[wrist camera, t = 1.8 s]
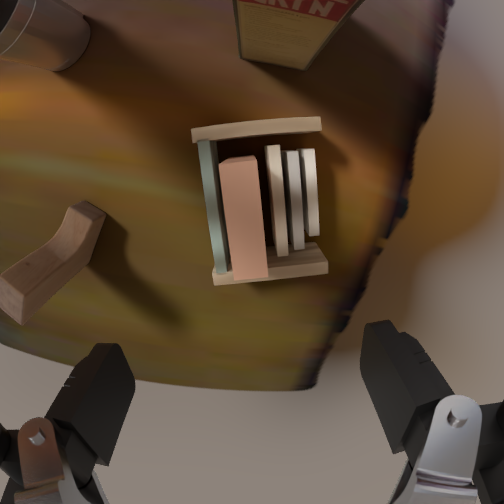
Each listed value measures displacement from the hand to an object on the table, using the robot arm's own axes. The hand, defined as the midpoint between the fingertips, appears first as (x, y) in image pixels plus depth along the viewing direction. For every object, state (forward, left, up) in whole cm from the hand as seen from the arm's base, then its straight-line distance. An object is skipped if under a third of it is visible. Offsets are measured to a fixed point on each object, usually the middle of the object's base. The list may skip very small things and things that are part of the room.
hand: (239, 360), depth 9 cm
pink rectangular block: (0, 0, -30) cm, 30 cm away
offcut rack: (0, +2, -30) cm, 30 cm away
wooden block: (+2, -24, -30) cm, 39 cm away
